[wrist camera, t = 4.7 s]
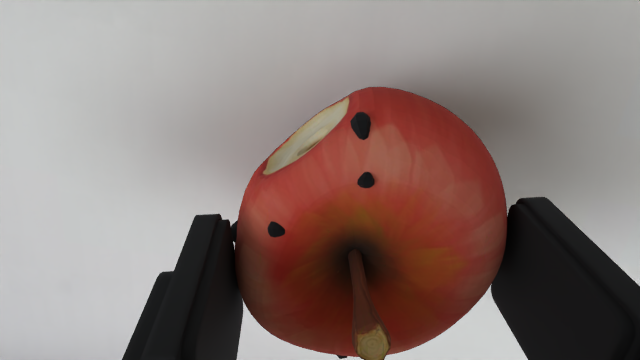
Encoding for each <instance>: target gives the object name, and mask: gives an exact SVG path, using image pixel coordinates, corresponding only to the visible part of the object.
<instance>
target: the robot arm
mask: <svg viewBox="0 0 640 360" xmlns="http://www.w3.org/2000/svg"><path fill="white" fill-rule="evenodd" d="M491 293H492V297H493V299H494V302H495V303H496V305H497V307H498V308H499V310H500V312H501V314H502V315H503V317H504V319H505V320H506V322H507V324H508V326H509V327H510V329H511V331H512V333H513V334H514V336H515V338H516V339H517V341H518V343H519V345H520V346H521V348H522V350H523V351H524V353H525V355H526V357H527V358H528V360H640V286H639V285H638V284H637V283H636V282H635V281H633V280H632V279H631V278H630V277H629V276H628V275H627V274H626V273H625V272H624V271H623V270H622V269H621V268H620V267H619V266H618V265H617V264H616V263H615V262H614V261H612V260H611V259H610V258H609V257H608V256H607V255H606V254H605V253H604V252H603V251H602V250H601V249H600V248H599V247H598V246H597V245H596V244H595V243H594V242H593V241H592V240H590V239H589V238H588V237H587V236H586V235H585V234H584V233H583V232H582V231H581V230H580V229H579V228H578V227H577V226H576V225H575V224H574V223H573V222H572V221H571V220H570V219H568V218H567V217H566V216H565V215H564V214H563V213H562V212H561V211H560V210H559V209H558V208H557V207H556V206H555V205H554V204H553V203H552V202H551V201H550V200H549V199H547V198H545V197H534V198H521V199H519V200H518V201H517V202H516V204H513V205H511V207H510V209H509V213H508V217H507V238H506V246H505V251H504V255H503V259H502V262H501V265H500V268H499V270H498V272H497V274H496V276H495V278H494V280H493V282H492V285H491ZM242 317H243V300H242V296H241V293H240V290H239V287H238V283H237V277H236V271H235V250H234V244H233V238H232V232H231V226H230V221H229V220H222V218H221V215H220V214H210V215H196V216H195V218H194V220H193V223H192V225H191V228H190V230H189V233H188V236H187V238H186V241H185V243H184V246H183V249H182V251H181V254H180V257H179V259H178V262H177V264H176V267H175V270H174V271H169V272H162V273H160V274H159V276H158V277H157V279H156V282H155V284H154V286H153V289H152V291H151V293H150V296H149V298H148V300H147V303H146V305H145V307H144V310H143V312H142V314H141V317H140V319H139V321H138V324H137V326H136V328H135V331H134V333H133V335H132V338H131V340H130V342H129V345H128V347H127V349H126V352H125V354H124V356H123V359H122V360H236V359H237V352H238V345H239V338H240V331H241V324H242Z"/></svg>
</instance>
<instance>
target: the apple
mask: <svg viewBox="0 0 640 360" xmlns="http://www.w3.org/2000/svg"><path fill="white" fill-rule="evenodd" d="M231 232H232V238H233V241H234V242H235V271H236V277H237V283H238V287H239V290H240V293H241V296H242V298H243V301H244V303H245V305H246V307H247V308H248V310H249V311H250V313H251V315H252V316H253V317H254V318H255V319H256V321H257V322H258V323H259V324H260V325H261V326H262V327H263V328H265V329H266V330H267V331H268V332H270V333H271V334H272V335H274V336H276V337H277V338H279V339H281V340H283V341H286V342H288V343H291V344H293V345H296V346H299V347H302V348H306V349H310V350H314V351H318V352H323V353H329V354H335V355H337V356H338V357H339V358H340V359H342V358H347V356H353V357H360V358H361V359H364V360H384V358H385V356H386V355H389V354H395V353H399V352H403V351H406V350H409V349H412V348H414V347H417V346H419V345H421V344H424V343H426V342H427V341H429V340H431V339H433V338H435V337H436V336H438V335H440V334H441V333H443V332H444V331H446V330H447V329H448V328H450V327H451V326H452V325H454V324H455V323H456V322H457V321H458V320H460V319H461V318H462V317H463V316H464V315H465V314H467V313H468V312H469V311H470V310H471V308H472V307H473V306H474V305H475V304H476V303H477V302H478V301H479V300H480V299H481V297H482V296H483V295H484V294H485V293H486V291H487V290H488V288H489V287H490V285H491V283H492V282H493V280H494V278H495V276H496V274H497V272H498V270H499V268H500V265H501V262H502V259H503V255H504V251H505V246H506V238H507V208H506V199H505V193H504V189H503V184H502V181H501V178H500V175H499V172H498V169H497V167H496V165H495V163H494V161H493V159H492V157H491V155H490V153H489V152H488V150H487V149H486V147H485V146H484V144H483V143H482V141H481V140H480V138H479V137H478V136H477V135H476V134H475V133H474V132H473V130H472V129H471V128H470V127H469V126H468V125H466V124H465V123H464V122H463V121H462V120H461V119H460V118H458V117H457V116H456V115H455V114H453V113H452V112H450V111H449V110H447V109H446V108H444V107H443V106H441V105H439V104H437V103H435V102H433V101H431V100H429V99H427V98H424V97H421V96H419V95H416V94H413V93H410V92H406V91H403V90H399V89H393V88H386V87H368V88H365V89H361V90H357V91H355V92H353V93H351V94H350V95H348V96H347V97H345V98H343V99H342V100H340V101H338V102H336V103H334V104H332V105H330V106H329V107H327V108H325V109H324V110H322V111H321V112H319V113H318V114H316V115H315V116H314V117H313V118H311V119H310V120H309V121H308V122H306V123H305V124H304V125H303V126H302V127H300V128H299V129H298V130H297V131H296V132H294V133H293V134H292V135H291V136H290V137H289V138H288V139H287V140H286V141H285V142H284V143H283V144H281V145H280V146H279V147H278V148H277V149H276V150H275V151H274V152H273V153H272V154H271V155H270V156H269V157H268V158H267V159H266V160H265V161H264V162H263V163H262V164H261V165H260V166H259V167H258V169H257V170H256V171H255V172H254V174H253V176H252V178H251V180H250V182H249V184H248V186H247V188H246V190H245V193H244V196H243V200H242V203H241V207H240V210H239V216H238V221H236V222H235V223H234V224H233V225H232V226H231Z"/></svg>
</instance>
